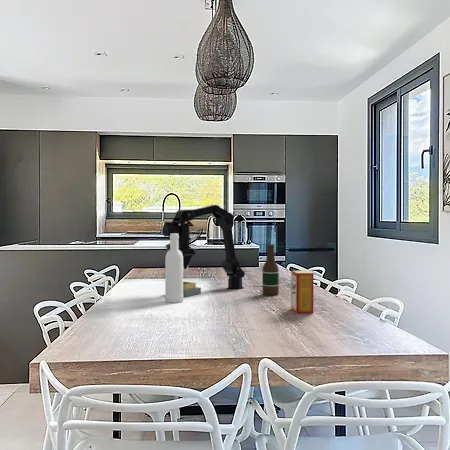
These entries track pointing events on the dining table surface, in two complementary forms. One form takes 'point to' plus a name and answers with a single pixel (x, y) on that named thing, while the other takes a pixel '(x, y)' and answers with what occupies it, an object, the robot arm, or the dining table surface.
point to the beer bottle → (270, 274)
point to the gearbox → (190, 289)
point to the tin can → (185, 269)
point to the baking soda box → (302, 291)
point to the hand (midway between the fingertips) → (183, 268)
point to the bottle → (174, 272)
